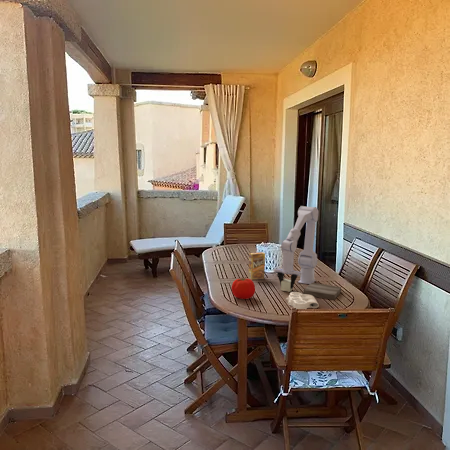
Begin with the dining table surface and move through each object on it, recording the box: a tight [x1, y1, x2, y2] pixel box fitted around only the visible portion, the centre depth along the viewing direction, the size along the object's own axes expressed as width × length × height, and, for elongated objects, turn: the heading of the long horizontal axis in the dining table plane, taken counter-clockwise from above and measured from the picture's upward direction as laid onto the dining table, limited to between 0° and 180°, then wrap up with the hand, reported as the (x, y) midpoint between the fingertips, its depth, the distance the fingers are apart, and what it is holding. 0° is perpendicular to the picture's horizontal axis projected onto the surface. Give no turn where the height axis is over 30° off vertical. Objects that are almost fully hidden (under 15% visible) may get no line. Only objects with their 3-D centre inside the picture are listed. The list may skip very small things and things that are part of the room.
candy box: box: [247, 251, 266, 281], centre depth 240 cm, size 9×4×15 cm, turn 115°
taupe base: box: [302, 282, 342, 301], centre depth 215 cm, size 16×16×2 cm
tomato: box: [231, 276, 256, 300], centre depth 204 cm, size 12×12×10 cm
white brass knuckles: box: [285, 291, 320, 310], centre depth 198 cm, size 3×18×15 cm
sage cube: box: [280, 278, 294, 293], centre depth 219 cm, size 5×5×5 cm
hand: (286, 287), depth 219 cm, fingers closed on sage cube, 5 cm apart
